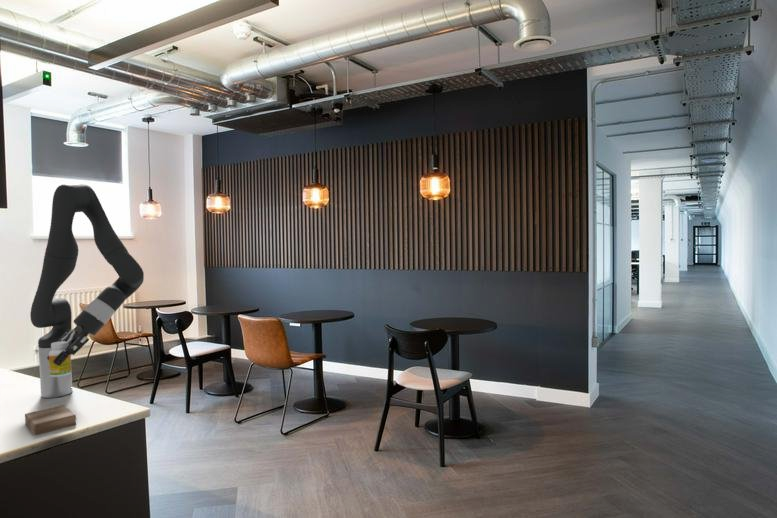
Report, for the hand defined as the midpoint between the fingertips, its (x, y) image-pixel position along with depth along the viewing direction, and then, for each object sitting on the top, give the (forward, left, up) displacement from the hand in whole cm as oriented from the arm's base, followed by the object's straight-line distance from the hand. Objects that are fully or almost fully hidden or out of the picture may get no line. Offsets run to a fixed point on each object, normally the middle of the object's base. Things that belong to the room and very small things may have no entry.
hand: (52, 362), depth 150 cm
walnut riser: (+2, -2, -18) cm, 18 cm away
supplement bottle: (0, +2, -4) cm, 5 cm away
